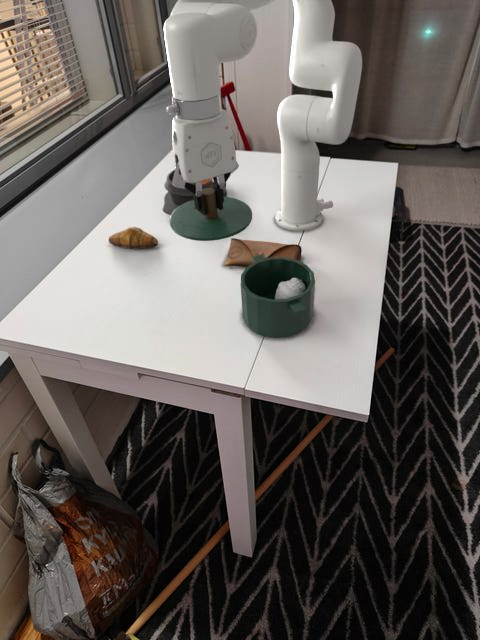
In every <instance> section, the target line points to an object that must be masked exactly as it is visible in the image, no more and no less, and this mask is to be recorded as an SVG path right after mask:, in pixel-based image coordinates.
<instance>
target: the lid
mask: <svg viewBox="0 0 480 640" xmlns="http://www.w3.org/2000/svg"><path fill="white" fill-rule="evenodd" d="M202 191H203V194H204V195H205V196H206V203H207V212H208V214H207V215H205V216H204V215H203V214H201V213H200V212H199V211H197V210H196V208H195V205H194V200H191V201H188V202H186V203H184V204H182V205H181V206H179V207H178V208H176V209H175V210H174V211H173V213H172V214H171V215H169V216H170V217H169V226H170V228H171V230H172V231H173V232H174V234H176V235H178V236H180V237H182V238H184V239H187V240H192V241H198V242H199V241H200V242H213V241H220V240H224V239H228V238H232V237H234V236H236V235H238V234H241V233H242V232H243V231H245V230H246V229H247V228H248V227H249V226H250V225H251V223H252V221H253V210H252V208H251V207H250V206H249V205H248V204H247V203H246V202H245V201H243V200H240V199H238V198H234V197H230V196H227V197H224V202H223V209H222V210H219V209H218V208H217V202H216V192H215V189H213V188H206V189H203V190H202Z"/></svg>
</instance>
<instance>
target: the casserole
mask: <svg viewBox="0 0 480 640" xmlns="http://www.w3.org/2000/svg"><path fill="white" fill-rule="evenodd" d="M174 172H175V169H173V170H171V171H170V172H169V173H168V174H167V176H166V180H165V181H164V186H163V187H164V189H165V190H166V191H167V192H166V194H164V197H163V202H164V204H163V207H162V212H163V213H164V214H166V215H169V216H171V214H172V213H173V211H174V210H175V209H176V208H178V207H179V206H181V205H182V204H184V203H186V202H188V201H191V200H194V198H193V193H192V192H190V191H189V190H187V189H182V188H177V187H175V186H174V185H173V184H172V180H173V176H174ZM183 180H184V179H183ZM211 184H213V181H212V178H211V179H207V180H204V181H202V190H203V189H206V188H210V186H211ZM225 185H226V186H225V188H224V189H223V194H224V197H228V192H227V182H226V183H225Z"/></svg>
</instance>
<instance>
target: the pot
mask: <svg viewBox="0 0 480 640" xmlns="http://www.w3.org/2000/svg"><path fill="white" fill-rule="evenodd" d="M252 261H253V262H254V263H252V264H251V265H249V266H248V267H244V270H243V271H242V273H241V274H240V296H241V311H242V313H241V314H242V319H243V322H244V324H245V325H246V327H247V328H248V329H249V330H250V331H252V332H253V333H255V334H257V335H259V336H261V337H264V338H269V339H285V338H290V337H293V336H294V337H295V336H296V335H298V334H301V333H302V332H304V331H305V330H306V329H307V328H308V327H309V326H310V324H311V323H312V320H313V317H314V309H315V308H314V307H315V293H316V277H315V273H314V271H313V270H312V269H311V267H309V265H307V264H306V263H304V262H302V261H301V260H300V261H298V260H296V259H290V258H285V257H273V258H265V257H264V256H263V254H262V255H258V256H254V257H252ZM292 278H298V279H299V280H302V282H303V283H304V285H305V290H304V291H303V292H302V293H301V294H299V295H297V296H294V297H291V298H287V299H275V295H276V290H277V288H278V285H279V283H280V282H284V281H289V280H291V279H292Z"/></svg>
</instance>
